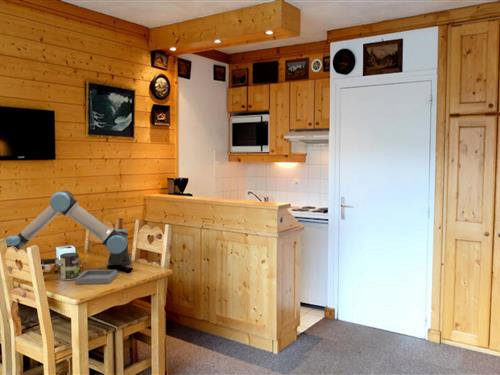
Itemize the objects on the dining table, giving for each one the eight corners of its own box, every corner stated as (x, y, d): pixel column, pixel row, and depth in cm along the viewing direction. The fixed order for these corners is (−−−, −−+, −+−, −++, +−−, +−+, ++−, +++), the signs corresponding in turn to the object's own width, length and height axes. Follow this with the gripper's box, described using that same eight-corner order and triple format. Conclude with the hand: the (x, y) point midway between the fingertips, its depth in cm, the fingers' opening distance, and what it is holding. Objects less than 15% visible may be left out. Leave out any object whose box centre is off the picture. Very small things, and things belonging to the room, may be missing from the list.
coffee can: (83, 276, 273) (82, 252, 272) (73, 280, 263) (72, 256, 261) (67, 275, 275) (66, 252, 274) (57, 279, 265) (56, 256, 264)
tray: (86, 275, 274) (86, 270, 274) (117, 275, 274) (117, 269, 274) (75, 284, 256) (75, 278, 255) (108, 284, 256) (108, 278, 256)
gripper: (41, 264, 287) (71, 266, 282) (12, 274, 263) (43, 276, 258) (41, 252, 287) (70, 254, 282) (11, 261, 262) (43, 263, 257)
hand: (57, 265), depth 270 cm, fingers open, 13 cm apart
